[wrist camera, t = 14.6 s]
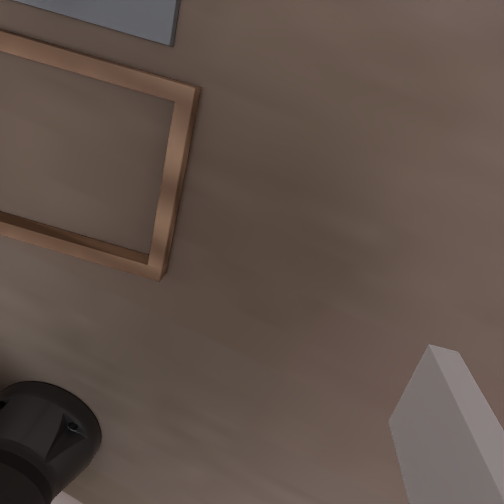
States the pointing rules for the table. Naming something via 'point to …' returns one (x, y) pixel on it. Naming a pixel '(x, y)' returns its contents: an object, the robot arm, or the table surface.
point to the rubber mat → (121, 15)
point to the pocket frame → (172, 173)
